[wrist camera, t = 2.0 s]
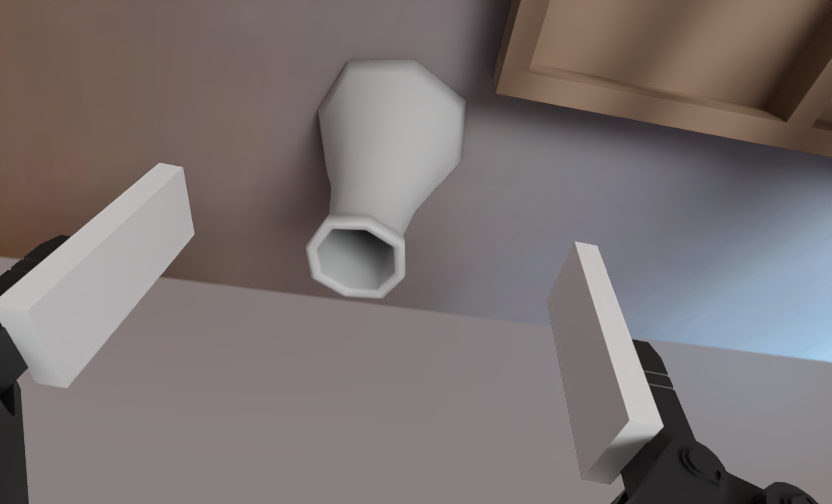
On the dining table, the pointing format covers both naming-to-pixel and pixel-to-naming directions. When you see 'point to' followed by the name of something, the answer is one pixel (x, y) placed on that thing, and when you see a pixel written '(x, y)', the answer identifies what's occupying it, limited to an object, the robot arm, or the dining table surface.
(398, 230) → the flask
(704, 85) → the tray
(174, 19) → the dining table surface
